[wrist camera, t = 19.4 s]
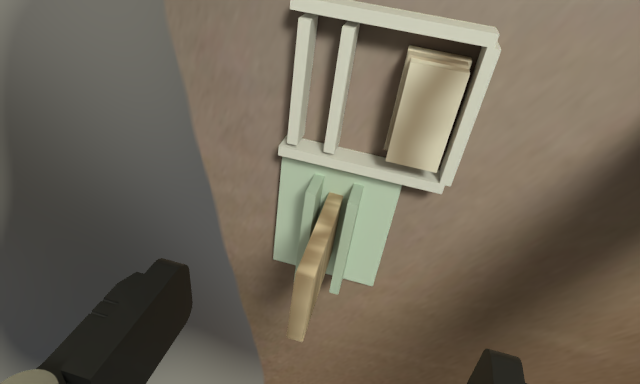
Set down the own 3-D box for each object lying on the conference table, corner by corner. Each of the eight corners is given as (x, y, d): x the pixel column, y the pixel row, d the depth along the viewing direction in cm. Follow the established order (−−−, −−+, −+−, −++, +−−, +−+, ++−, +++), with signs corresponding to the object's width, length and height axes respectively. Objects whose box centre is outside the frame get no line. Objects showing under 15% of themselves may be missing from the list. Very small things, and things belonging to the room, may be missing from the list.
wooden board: (343, 195, 42) (313, 279, 32) (331, 253, 46) (302, 342, 37) (329, 192, 42) (295, 274, 32) (318, 250, 47) (286, 337, 37)
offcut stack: (471, 57, 33) (474, 70, 30) (438, 155, 38) (438, 174, 35) (409, 45, 34) (406, 56, 31) (385, 142, 39) (380, 161, 36)
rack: (502, 28, 32) (506, 35, 29) (446, 181, 39) (447, 195, 37) (300, -10, 34) (291, -5, 32) (286, 143, 41) (277, 155, 39)
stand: (402, 180, 41) (398, 206, 37) (373, 280, 48) (368, 309, 45) (285, 152, 42) (270, 174, 38) (275, 253, 50) (262, 280, 46)
